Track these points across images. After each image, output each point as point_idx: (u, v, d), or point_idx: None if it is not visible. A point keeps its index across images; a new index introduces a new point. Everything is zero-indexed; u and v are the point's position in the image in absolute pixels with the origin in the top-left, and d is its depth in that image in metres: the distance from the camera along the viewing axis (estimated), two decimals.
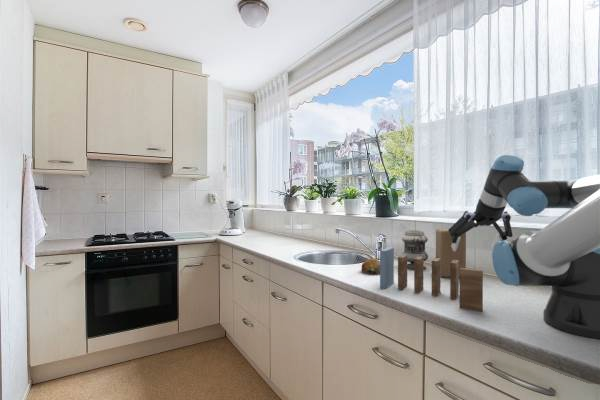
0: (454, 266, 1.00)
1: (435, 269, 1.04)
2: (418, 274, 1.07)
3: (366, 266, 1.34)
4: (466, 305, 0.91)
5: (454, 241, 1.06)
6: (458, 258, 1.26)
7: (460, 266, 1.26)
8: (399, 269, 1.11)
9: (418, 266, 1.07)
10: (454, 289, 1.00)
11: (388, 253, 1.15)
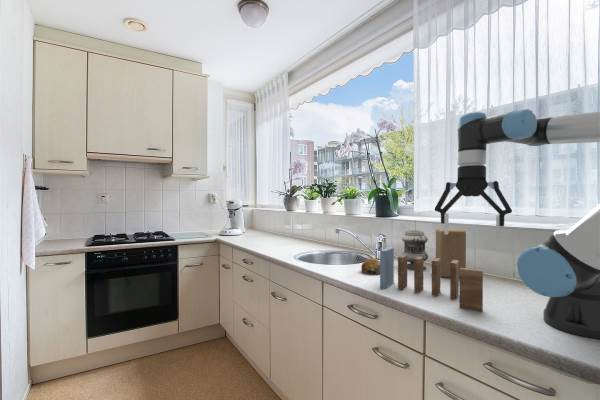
0: (454, 266, 1.00)
1: (435, 269, 1.04)
2: (418, 274, 1.07)
3: (366, 266, 1.34)
4: (466, 305, 0.91)
5: (442, 220, 0.95)
6: (458, 258, 1.26)
7: (460, 266, 1.26)
8: (399, 269, 1.11)
9: (418, 266, 1.07)
10: (454, 289, 1.00)
11: (388, 253, 1.15)
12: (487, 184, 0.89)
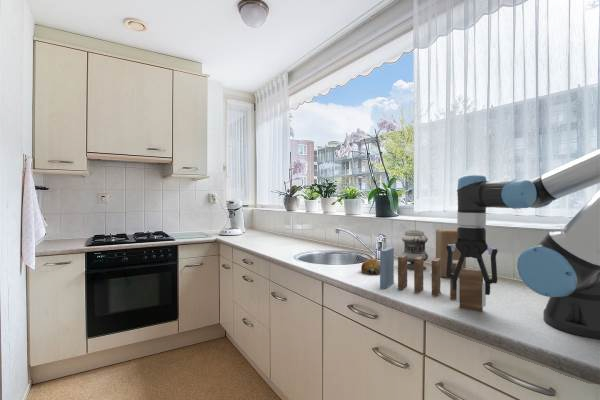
0: (454, 266, 1.00)
1: (435, 269, 1.04)
2: (418, 274, 1.07)
3: (366, 266, 1.34)
4: (466, 305, 0.91)
5: (454, 287, 0.93)
6: (458, 258, 1.27)
7: None
8: (399, 269, 1.11)
9: (418, 266, 1.07)
10: None
11: (388, 253, 1.15)
12: (486, 248, 0.89)
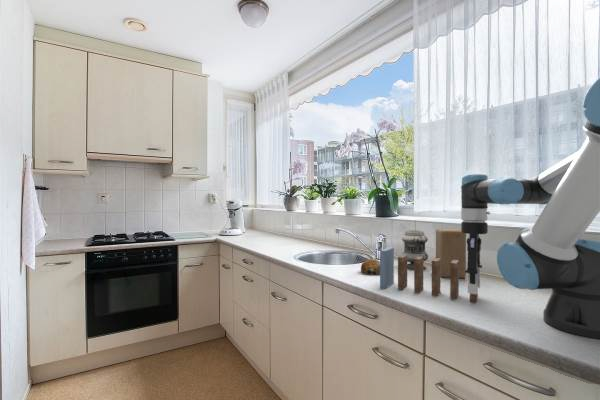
0: (454, 266, 1.00)
1: (435, 269, 1.04)
2: (418, 274, 1.07)
3: (365, 266, 1.34)
4: None
5: None
6: (458, 258, 1.27)
7: (460, 266, 1.26)
8: (399, 269, 1.11)
9: (418, 266, 1.07)
10: (454, 289, 1.00)
11: (388, 253, 1.15)
12: (470, 241, 0.97)
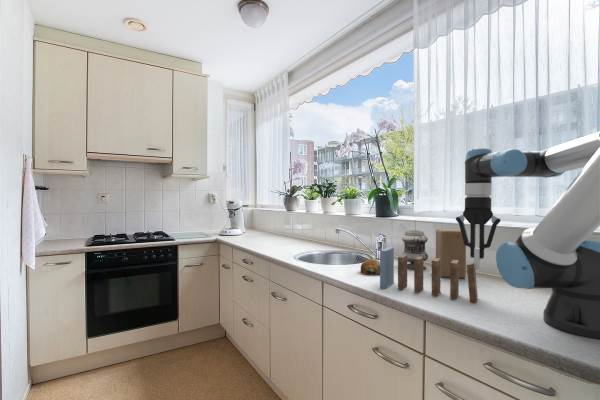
0: (454, 266, 1.00)
1: (435, 269, 1.04)
2: (418, 274, 1.07)
3: (365, 267, 1.33)
4: None
5: (472, 255, 1.00)
6: (458, 258, 1.27)
7: (460, 266, 1.26)
8: (399, 269, 1.11)
9: (418, 266, 1.07)
10: (454, 289, 1.00)
11: (388, 253, 1.15)
12: (491, 216, 0.96)
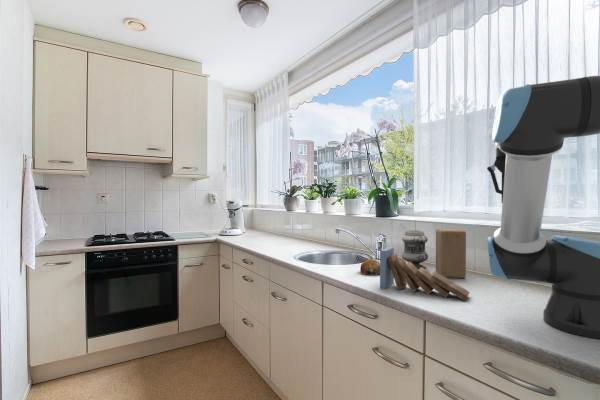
0: (419, 273, 1.07)
1: (410, 271, 1.08)
2: (405, 273, 1.10)
3: (365, 267, 1.33)
4: None
5: None
6: (458, 258, 1.27)
7: (460, 266, 1.26)
8: (392, 269, 1.12)
9: (400, 266, 1.10)
10: (439, 288, 1.03)
11: (388, 253, 1.15)
12: None
